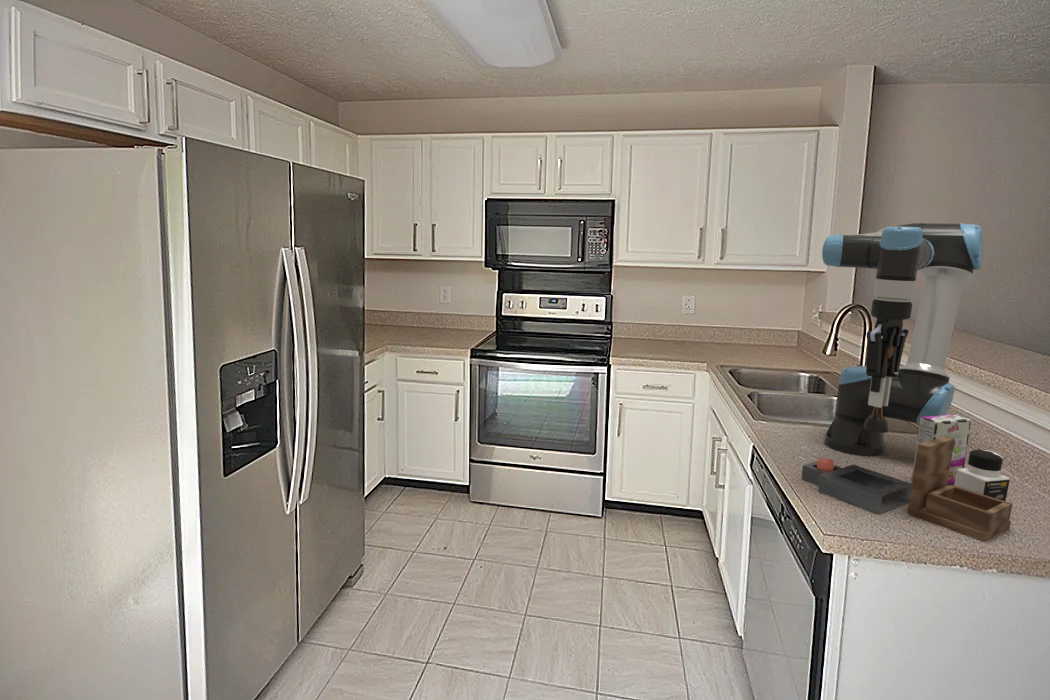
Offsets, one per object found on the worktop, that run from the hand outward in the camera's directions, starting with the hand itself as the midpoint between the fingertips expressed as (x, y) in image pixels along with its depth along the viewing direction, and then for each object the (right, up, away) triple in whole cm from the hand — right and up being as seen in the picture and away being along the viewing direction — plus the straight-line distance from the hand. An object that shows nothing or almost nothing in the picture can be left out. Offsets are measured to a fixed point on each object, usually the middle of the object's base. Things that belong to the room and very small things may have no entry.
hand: (877, 405), depth 140 cm
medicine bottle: (+24, -23, +2) cm, 33 cm away
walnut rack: (+13, -24, -8) cm, 28 cm away
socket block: (-3, -21, +6) cm, 22 cm away
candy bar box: (+22, -20, +14) cm, 33 cm away
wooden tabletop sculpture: (0, -6, +1) cm, 6 cm away
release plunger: (-7, -19, +12) cm, 23 cm away
